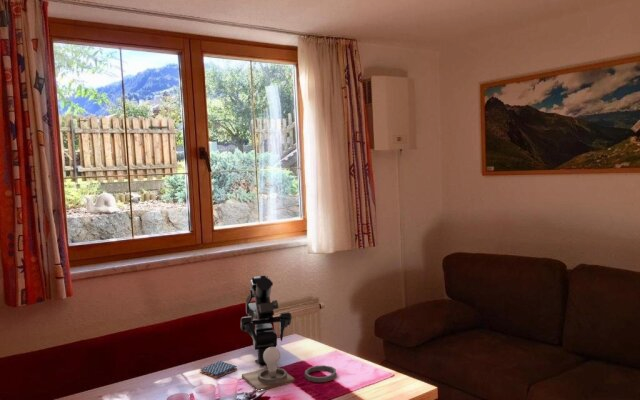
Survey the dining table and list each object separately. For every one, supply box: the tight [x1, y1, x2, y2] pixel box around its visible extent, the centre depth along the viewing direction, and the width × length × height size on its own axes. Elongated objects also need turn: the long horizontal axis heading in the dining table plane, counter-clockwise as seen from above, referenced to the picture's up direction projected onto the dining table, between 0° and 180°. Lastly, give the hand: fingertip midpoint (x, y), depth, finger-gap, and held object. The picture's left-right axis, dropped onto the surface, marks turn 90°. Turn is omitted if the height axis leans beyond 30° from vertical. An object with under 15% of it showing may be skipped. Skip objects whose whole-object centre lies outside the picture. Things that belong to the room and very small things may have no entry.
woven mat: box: [199, 360, 238, 379], centre depth 188 cm, size 10×11×2 cm
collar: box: [304, 365, 337, 383], centre depth 180 cm, size 11×11×2 cm
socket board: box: [241, 365, 296, 391], centre depth 178 cm, size 15×14×2 cm
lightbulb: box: [263, 347, 281, 378], centre depth 177 cm, size 6×6×11 cm
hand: (269, 342), depth 181 cm, fingers open, 9 cm apart
